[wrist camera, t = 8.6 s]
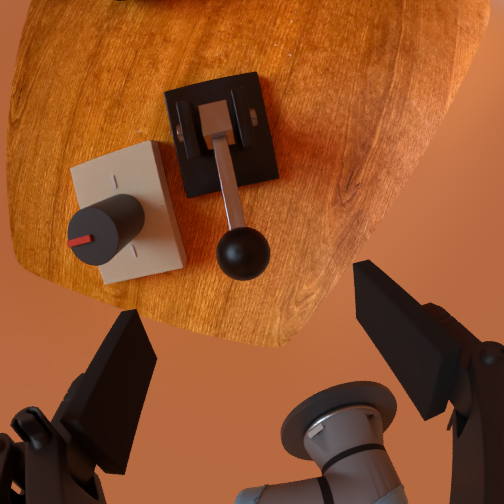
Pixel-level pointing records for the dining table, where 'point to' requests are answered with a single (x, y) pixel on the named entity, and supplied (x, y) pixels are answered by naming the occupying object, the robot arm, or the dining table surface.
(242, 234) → the ball knob lever
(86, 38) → the dining table surface
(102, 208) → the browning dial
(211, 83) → the lever bracket
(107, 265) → the dial panel
